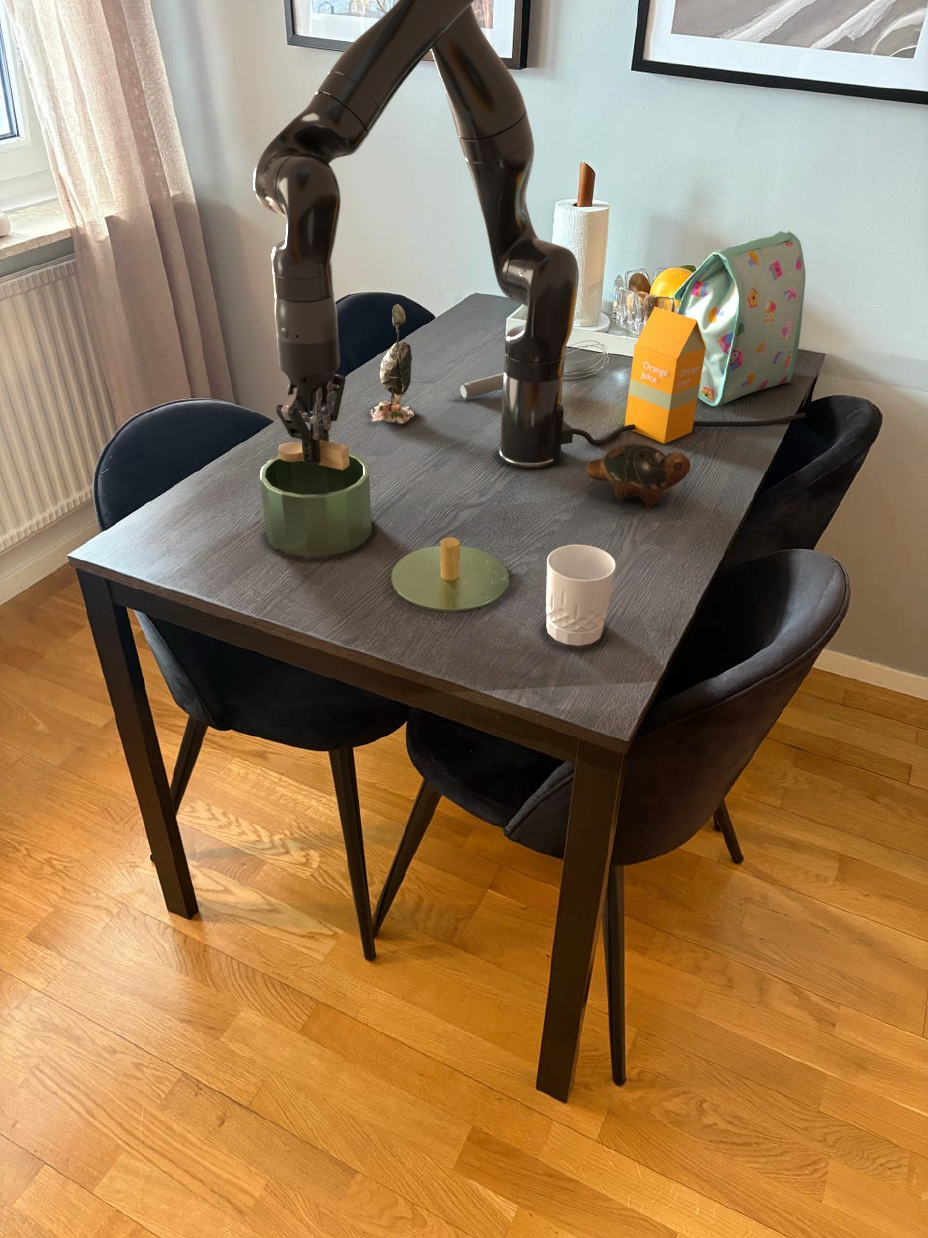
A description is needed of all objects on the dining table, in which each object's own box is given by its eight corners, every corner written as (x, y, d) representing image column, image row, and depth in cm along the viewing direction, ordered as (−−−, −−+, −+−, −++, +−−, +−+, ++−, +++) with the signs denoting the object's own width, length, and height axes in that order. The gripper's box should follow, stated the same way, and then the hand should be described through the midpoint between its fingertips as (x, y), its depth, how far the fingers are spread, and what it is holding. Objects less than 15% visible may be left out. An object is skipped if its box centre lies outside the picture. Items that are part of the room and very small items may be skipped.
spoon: (353, 462, 127) (352, 442, 125) (339, 473, 124) (338, 454, 123) (289, 447, 130) (287, 428, 129) (273, 458, 127) (271, 439, 126)
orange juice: (663, 444, 159) (682, 324, 148) (623, 426, 165) (638, 310, 153) (692, 431, 164) (712, 314, 152) (652, 415, 169) (669, 301, 157)
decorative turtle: (684, 516, 139) (688, 467, 134) (581, 507, 143) (581, 459, 138) (690, 484, 147) (694, 436, 142) (592, 476, 150) (593, 429, 146)
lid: (500, 549, 131) (502, 510, 127) (516, 613, 119) (519, 572, 115) (388, 554, 129) (387, 514, 126) (393, 619, 117) (392, 577, 114)
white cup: (537, 614, 119) (542, 545, 113) (599, 612, 119) (608, 543, 113) (547, 653, 112) (553, 581, 106) (613, 650, 113) (622, 579, 107)
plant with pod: (427, 406, 171) (426, 292, 159) (402, 430, 162) (399, 312, 150) (385, 399, 173) (381, 286, 161) (358, 423, 164) (352, 306, 152)
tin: (370, 506, 140) (367, 446, 135) (372, 557, 129) (370, 495, 123) (270, 509, 139) (264, 449, 133) (264, 562, 127) (256, 498, 122)
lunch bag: (730, 359, 192) (756, 218, 176) (799, 385, 182) (833, 237, 166) (652, 385, 180) (673, 236, 164) (722, 414, 170) (751, 257, 154)
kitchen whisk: (444, 394, 175) (445, 361, 171) (595, 365, 189) (598, 334, 185) (461, 406, 170) (461, 372, 167) (613, 376, 184) (617, 344, 181)
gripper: (303, 353, 111) (314, 487, 121) (361, 319, 121) (366, 445, 131) (249, 342, 113) (264, 475, 123) (310, 310, 123) (319, 434, 133)
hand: (317, 459), depth 127 cm, fingers closed on spoon
